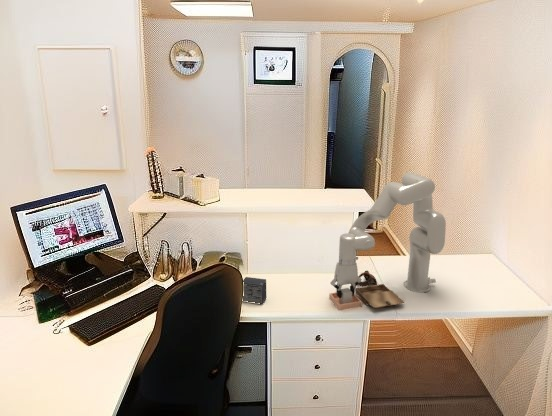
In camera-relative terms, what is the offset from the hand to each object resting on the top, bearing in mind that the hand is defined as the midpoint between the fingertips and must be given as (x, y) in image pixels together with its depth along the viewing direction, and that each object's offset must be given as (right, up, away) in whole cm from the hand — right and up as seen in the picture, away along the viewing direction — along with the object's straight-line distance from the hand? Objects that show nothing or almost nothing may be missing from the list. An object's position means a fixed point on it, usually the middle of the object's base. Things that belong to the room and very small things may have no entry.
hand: (345, 295), depth 198 cm
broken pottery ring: (+14, +1, +18) cm, 23 cm away
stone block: (0, -3, +1) cm, 4 cm away
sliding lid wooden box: (+16, -3, +3) cm, 17 cm away
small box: (-43, -3, +5) cm, 43 cm away
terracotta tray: (0, -4, +1) cm, 4 cm away
